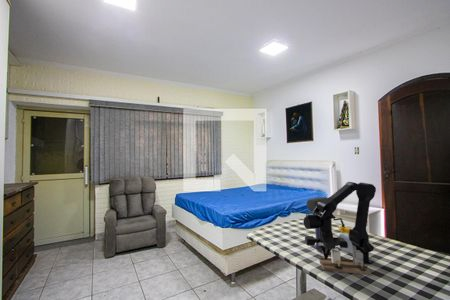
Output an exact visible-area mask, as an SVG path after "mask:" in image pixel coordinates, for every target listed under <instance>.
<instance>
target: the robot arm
mask: <svg viewBox="0 0 450 300" xmlns="http://www.w3.org/2000/svg"><path fill="white" fill-rule="evenodd" d="M353 192H355V194H356V196H357V198H358V202H357V207H356V216H355V223H354V227H353V228H351V229H350V230H349V235H348V236H349V240H350V241H351V243H352V245H354V246H356V250H359V251H360V252H361V253H362V254H363V263H364V264H373V262H372V260H371V259H370V253H371V252H374V249H375V247H374V245H372V244H371V243H370V240H369V239H370V237H369V236H370V235H369V233H368V230H367V225H368V220H369V219H368V218H369V210H370V203H371V202H372V200H373V199H374V197H375V195H376V193H377V187H376V186H375V185H374V184H372V183H367V182H358V183H356V182H353V181H348V182H346V183H345V184H344V185H343V186H342V187H340V188H339V189H338V190H337V191H335V192H334V193H333V194H331V196H329V197H326V198H325V199H323V200H321V201H319V202H318V203H317V206H316V208H315V209H314V211H311V212H312V213H311V214H310V213H309V214H308V213H307V214H305V217H304V218H303V221H302V222H303V226H304V228H305V229H307V230H314V229H316V228H319V239H316V238H315V237H314V236H313V235H306V236H304V241H305V244H306V246H310V247H314V246H316V243H317V245H318V246H319V248H321V249H322V251H321V252H322V255H323V258H325V259H327V258H329V255H330V253H331V250H332V249H336V247H339V248H340V247H341V248H348V243H347V242H346V240H345V239H344V238H340V237H338V236H337V237H335V236H334V235H333V230H332V229H333V227H332V220H334V219H337V218H336V216H335V215H334V214H333V213H334V212H335V211H336V210H337V207H338V206H339V204H340V203H342V202H343V201H344V200H345V199H347V198H348V197H349V196H350V195H351V194H353ZM319 212H321V213H319Z"/></svg>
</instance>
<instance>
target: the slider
mask: <svg viewBox="0 0 450 300" xmlns="http://www.w3.org/2000/svg"><path fill="white" fill-rule="evenodd" d="M330 253H331V257H330V258H331V261H332V262H333V263H335V264H338V266H339V267H340V264H341V260H340V259H341V251H340V250H339V249H338V248H335V249H332V250H331V251H330Z"/></svg>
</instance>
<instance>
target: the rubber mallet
mask: <svg viewBox="0 0 450 300" xmlns="http://www.w3.org/2000/svg"><path fill="white" fill-rule="evenodd" d="M325 198H327V197H326V196H319V197H313V198H309V199H307V200H306V207H307V210H309V211H310V212H313V211H314V209H315V208H316V206H317V203H318V202H319V201H321V200H323V199H325ZM319 213H321V212H319ZM321 214H322V213H321ZM314 234H315V239H319V228H316V229H315V233H314ZM315 249H316V251H317V252H322V249H321V248H319V246H318V245H317V243H315Z"/></svg>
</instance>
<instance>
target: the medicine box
mask: <svg viewBox="0 0 450 300" xmlns="http://www.w3.org/2000/svg"><path fill="white" fill-rule="evenodd" d="M348 235H349V234H348V233H342V232H341V233H340V234H339V238H344V239H345V240H346V242H347V243H348V248H341V247H340V246H339V249H340V250H342V251H343V252H346V253H349V254H351V255H353V250H356V246H354V245H352V243H351V241H350V240H349V236H348Z"/></svg>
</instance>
